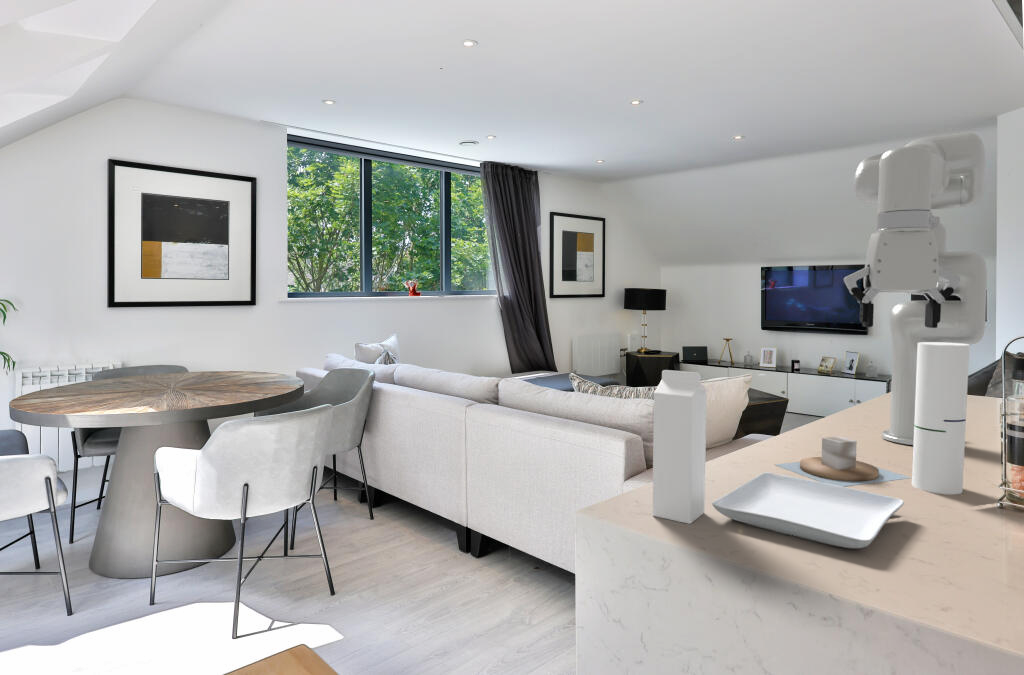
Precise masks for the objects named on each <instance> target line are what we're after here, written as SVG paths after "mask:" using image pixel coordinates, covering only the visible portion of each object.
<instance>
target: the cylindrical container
mask: <svg viewBox="0 0 1024 675" xmlns="http://www.w3.org/2000/svg"><path fill="white" fill-rule="evenodd" d="M969 361H970V345H969V344H962V343H946V342H920V343H918V349H917V373H916V397H915V421H914V424H915V425H914V445H912V447H913V448H912V451H913V454H912V469H911V470H912V473H911V475H912V476H911V486H912V487H913V488H915V489H918V490H921V491H922V492H923V491H924V492H928V493H931V494H932V493H934V494H939V495H959V494H962V493H963V489H964V488H963V487H964V486H963V485H964V466H965V447H966V446H965V445H966V428H967V426H966V424H967V422H966V421H967V402H968V384H969V383H968V382H969V365H970V364H969Z"/></svg>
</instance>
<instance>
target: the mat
mask: <svg viewBox="0 0 1024 675" xmlns="http://www.w3.org/2000/svg"><path fill="white" fill-rule="evenodd" d="M774 466H775V467H779V468H782V469H785V470H786V471H787V470H788V471H790V472H793V473H795V474H798V475H800V476H804V477H806V478H808V479H810V480H813V481H818V482H823V483H828V484H833V485H838V486H842V487H852V486H860V485H861V486H862V485H869V484H876V483H883V482H884V483H885V482H891V481H892V482H893V481H899V480H900V481H901V480H907V479H908V480H909V479H912V476H907V475H903V474H901V473H897V472H894V471H891V470H887V469H884V468H880V467H877V466H875V467H876V468H877V469H878V470H879V477H878V478H877V479H875V480H871V481H862V482H851V481H838V480H831V479H826V478H821V477H817V476H813V475H810V474H808V473H806V472H804V471H802V470H801V469H800V461H797V462H796V461H795V462H786V463H777V464H774Z"/></svg>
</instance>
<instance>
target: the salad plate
mask: <svg viewBox="0 0 1024 675" xmlns="http://www.w3.org/2000/svg"><path fill="white" fill-rule="evenodd" d="M904 503H905V501H904V500H903V499H901V498H898V497H893V496H889V495H888V496H887V495H884V494H879V493H875V492H871V491H870V492H869V491H865V490H861V489H856V488H851V487H848V486H846V487H842V486H838V485H833V484H828V483H823V482H820V481H817V480H813V479H806V478H800V477H795V476H789V475H784V474H778V473H775V472H774V473H772V472H768V471H767V472H766V471H764V472H762V473H760V474H758V475H757V476H755V477H753V478H751V479H750V480H748V481H746V482H745V483H743V484H741V485H740V486H738V487H736V488H735V489H733V490H731V491H730V492H727V493H726V494H725V495H722V496H721V497H719V498H718V499H716V500H714V501H713V502H712V504H711V505H712V506H713V508H714V509H715V510H716V511H717V512H719V513H720V514H721V515H723V516H724V517H727V518H729V519H731V520H734V521H737V522H739V523H740V522H741V523H744V524H746V525H749V526H753V527H757V528H761V529H765V530H768V531H773V532H777V533H781V534H784V535H788V534H789V536H792V535H793V537H796V536H797V537H798V538H801V539H805V540H810V541H814V542H816V543H821V544H826V545H830V546H835V547H840V548H843V549H844V548H845V549H862V548H866V547H868V546H869V545H870V544H871V543H872V542H873V541H874V540H875V538H877V536H878V535H879V533H880V532H881V530H882V528H884V525H885V524H886V522H888V521H889V519H890V518H891V517H892V516H893V515H894V514H895V513H897V512H899V510H900V509H901V507H903V506H904Z"/></svg>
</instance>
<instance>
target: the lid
mask: <svg viewBox="0 0 1024 675" xmlns="http://www.w3.org/2000/svg"><path fill="white" fill-rule="evenodd" d="M857 446H858V445H857V440H853V439H850V438H847V437H843V436H840V435H839V436H830V437H822V438H821V456H812V457H805V458H802V459H801V460H800V461H799V462H800V469H801V470H802V471H804V472H806V473H808V474H810V475H813V476H817V477H821V478H826V479H831V480H838V481H851V482H862V481H871V480H875V479H877V478H878V477H879V470H878V469H877V468H876V467H877V466H874V465H872V464H869V463H867V462H863V461H861V460H860V461H859V460H857Z"/></svg>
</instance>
